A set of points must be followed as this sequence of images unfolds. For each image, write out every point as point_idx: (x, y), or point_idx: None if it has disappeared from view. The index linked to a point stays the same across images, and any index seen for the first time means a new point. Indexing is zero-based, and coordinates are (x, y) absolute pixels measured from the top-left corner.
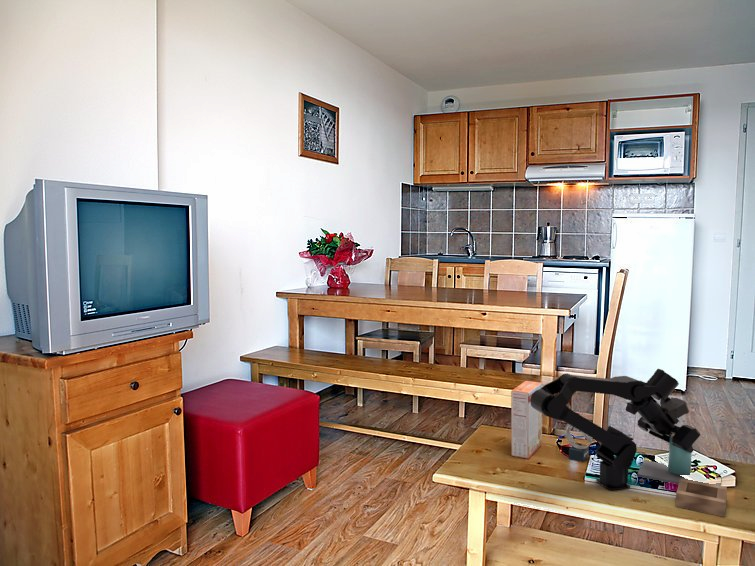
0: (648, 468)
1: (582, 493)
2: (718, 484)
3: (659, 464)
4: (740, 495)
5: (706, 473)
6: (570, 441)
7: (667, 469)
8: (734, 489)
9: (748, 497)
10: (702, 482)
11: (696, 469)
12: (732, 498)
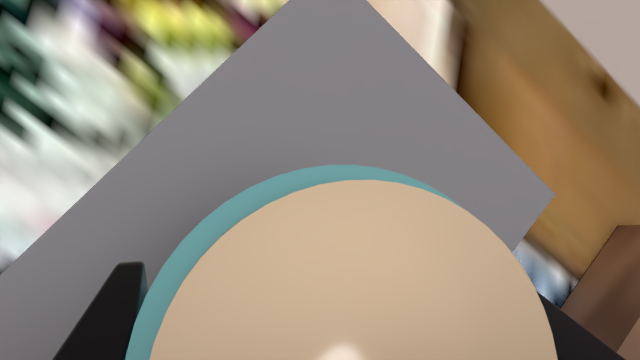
0: None
1: None
2: (482, 134)
3: (4, 336)
4: (572, 86)
5: (226, 16)
6: None
7: None
8: (497, 50)
9: (599, 63)
10: (620, 352)
11: (133, 29)
12: (600, 167)
